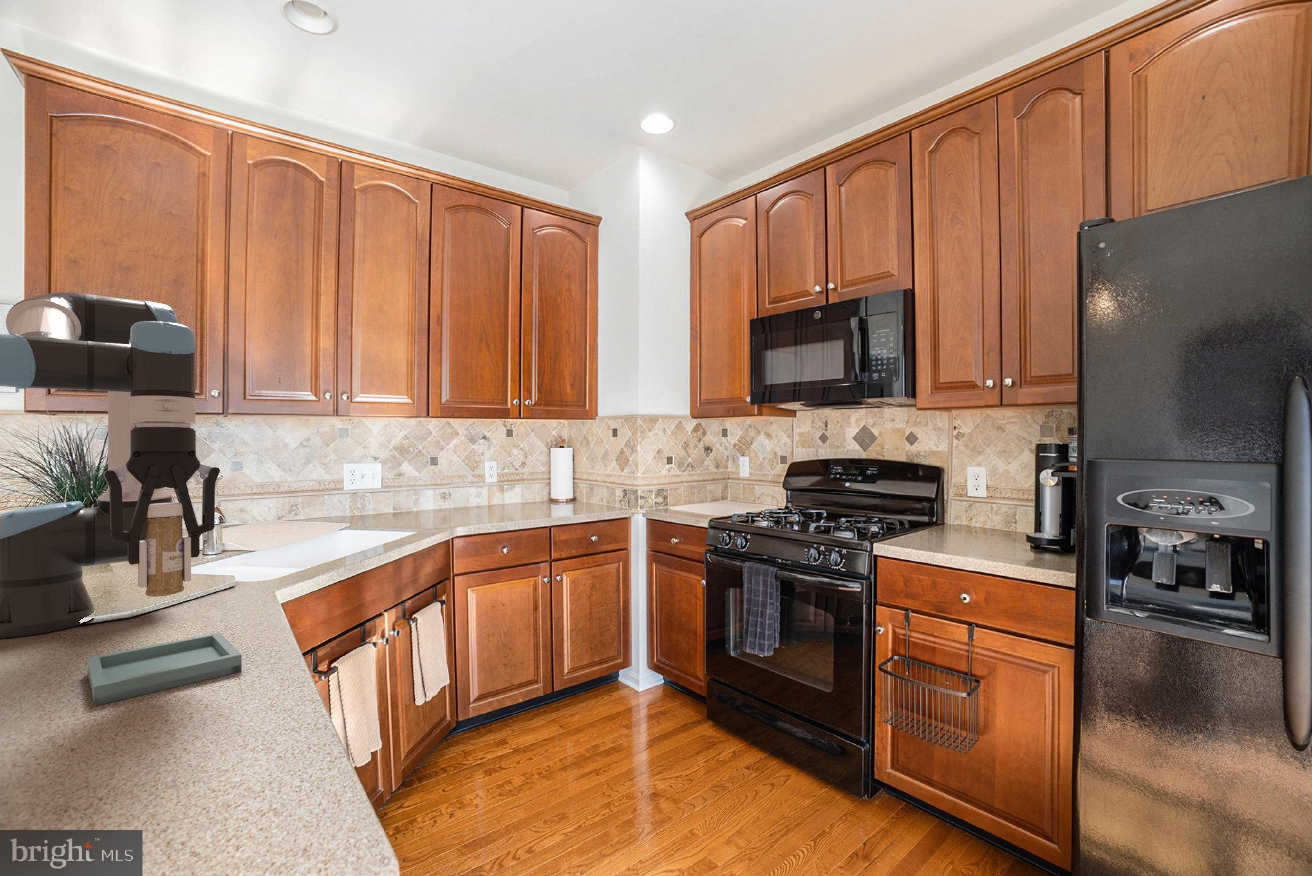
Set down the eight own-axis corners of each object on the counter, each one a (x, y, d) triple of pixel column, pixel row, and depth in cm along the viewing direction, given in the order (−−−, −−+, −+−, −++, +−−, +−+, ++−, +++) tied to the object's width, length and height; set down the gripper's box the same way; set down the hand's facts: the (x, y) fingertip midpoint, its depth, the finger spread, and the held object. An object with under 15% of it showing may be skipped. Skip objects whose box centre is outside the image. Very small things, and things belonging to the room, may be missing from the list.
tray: (87, 675, 88) (87, 658, 88) (219, 647, 99) (219, 632, 99) (93, 706, 77) (93, 687, 77) (241, 671, 88) (241, 654, 88)
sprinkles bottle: (182, 594, 87) (181, 503, 87) (141, 599, 85) (141, 505, 85) (186, 588, 91) (185, 501, 91) (147, 593, 88) (146, 503, 89)
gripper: (84, 424, 80) (84, 598, 79) (239, 426, 92) (240, 576, 92) (81, 427, 85) (82, 590, 84) (229, 428, 97) (230, 570, 97)
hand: (164, 582), depth 88 cm, fingers closed on sprinkles bottle, 4 cm apart
